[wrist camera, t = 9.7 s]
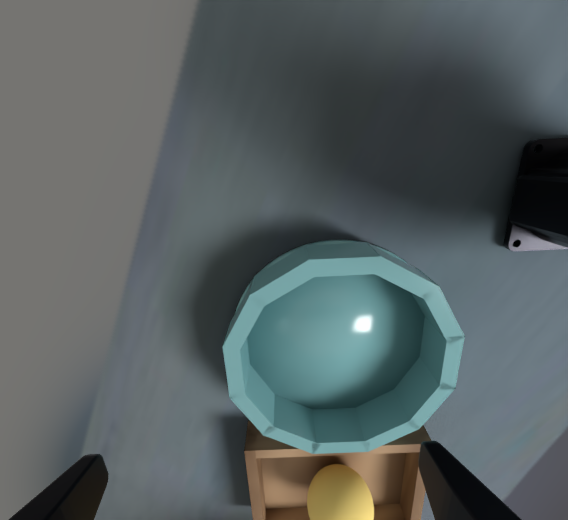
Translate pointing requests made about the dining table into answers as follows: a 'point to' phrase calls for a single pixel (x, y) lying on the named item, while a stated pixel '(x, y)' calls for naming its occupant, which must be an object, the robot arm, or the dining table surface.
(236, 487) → the dining table surface
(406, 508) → the tray
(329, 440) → the bowl
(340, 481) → the ball
